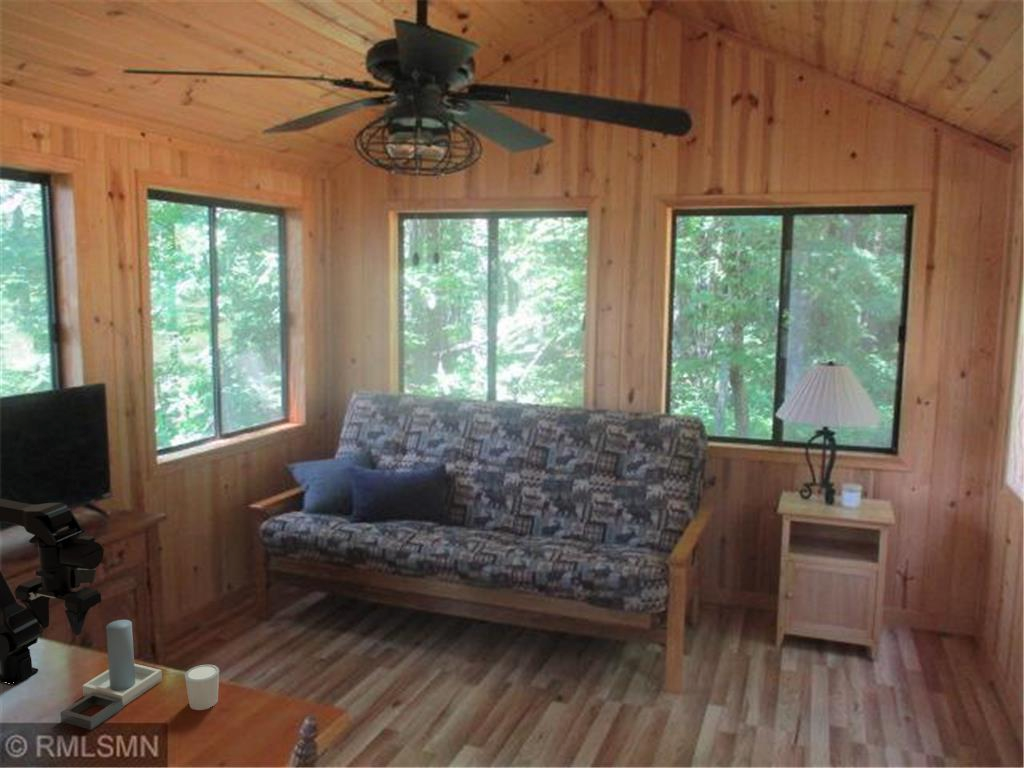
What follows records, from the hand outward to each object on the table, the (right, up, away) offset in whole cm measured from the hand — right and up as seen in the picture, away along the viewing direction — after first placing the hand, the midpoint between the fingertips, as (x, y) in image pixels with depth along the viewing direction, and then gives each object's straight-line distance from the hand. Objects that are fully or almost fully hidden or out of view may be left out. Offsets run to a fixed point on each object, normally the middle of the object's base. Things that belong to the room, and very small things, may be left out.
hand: (61, 631), depth 173 cm
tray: (+12, -13, +2) cm, 18 cm away
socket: (+11, -15, -8) cm, 20 cm away
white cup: (+32, -15, -3) cm, 35 cm away
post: (+12, -12, +2) cm, 17 cm away
